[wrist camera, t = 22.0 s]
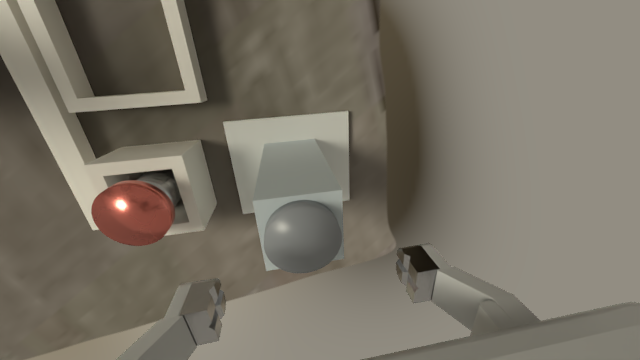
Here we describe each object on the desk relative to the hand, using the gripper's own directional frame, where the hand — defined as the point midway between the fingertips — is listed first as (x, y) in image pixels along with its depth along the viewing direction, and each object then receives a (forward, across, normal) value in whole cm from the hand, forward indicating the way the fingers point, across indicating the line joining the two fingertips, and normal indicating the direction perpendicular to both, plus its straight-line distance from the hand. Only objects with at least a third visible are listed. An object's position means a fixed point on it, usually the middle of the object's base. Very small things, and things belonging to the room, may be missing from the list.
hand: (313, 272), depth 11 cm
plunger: (+16, +12, +1) cm, 20 cm away
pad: (+16, 0, +1) cm, 16 cm away
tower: (+16, +12, +1) cm, 20 cm away
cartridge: (+16, 0, +1) cm, 16 cm away
